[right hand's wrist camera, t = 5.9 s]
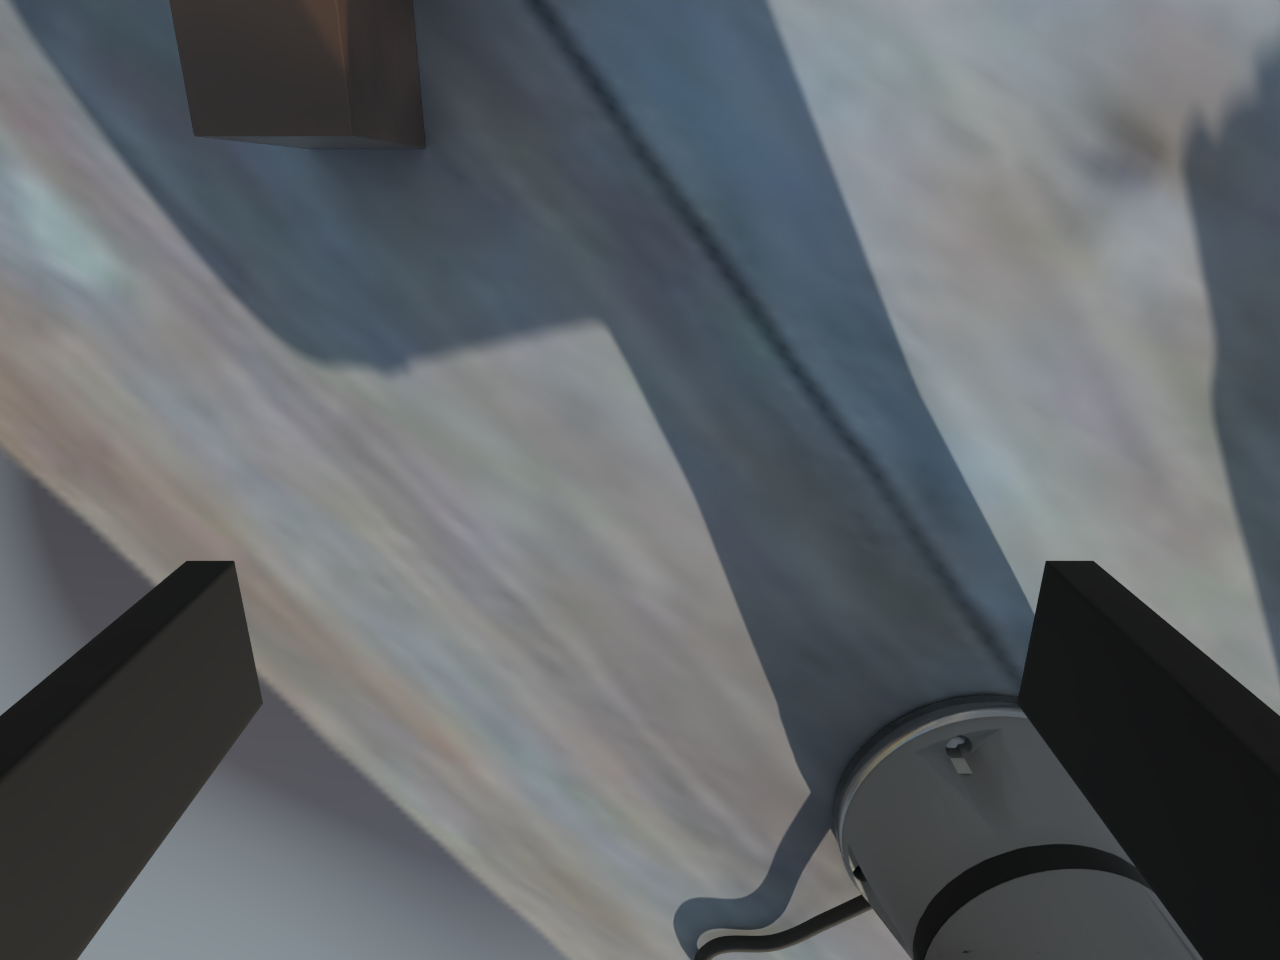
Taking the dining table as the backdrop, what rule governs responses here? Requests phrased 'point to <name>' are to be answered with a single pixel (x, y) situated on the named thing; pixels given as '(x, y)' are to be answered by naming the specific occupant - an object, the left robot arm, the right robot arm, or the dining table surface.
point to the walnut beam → (302, 72)
